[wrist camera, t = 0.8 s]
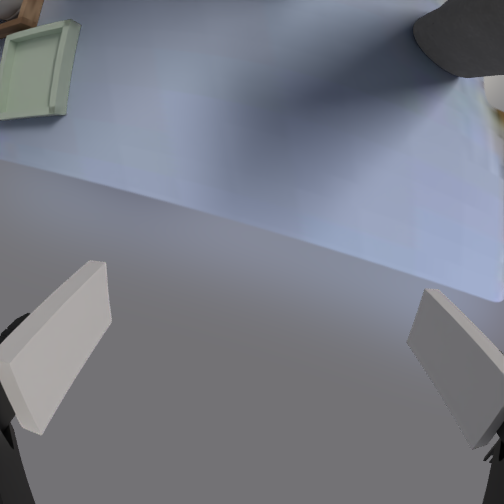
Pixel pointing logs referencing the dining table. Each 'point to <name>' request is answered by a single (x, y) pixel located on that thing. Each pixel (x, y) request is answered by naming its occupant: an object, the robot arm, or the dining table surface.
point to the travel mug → (10, 9)
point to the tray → (37, 70)
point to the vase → (464, 37)
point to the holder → (23, 18)
